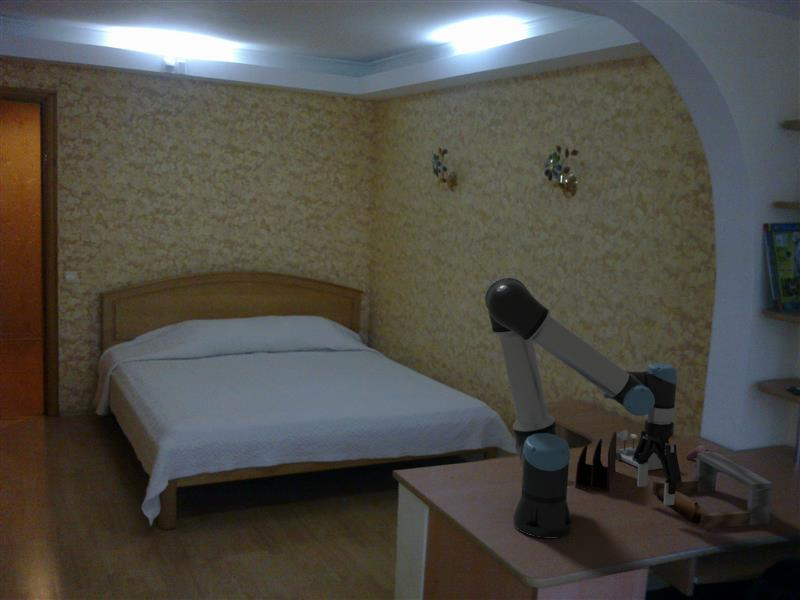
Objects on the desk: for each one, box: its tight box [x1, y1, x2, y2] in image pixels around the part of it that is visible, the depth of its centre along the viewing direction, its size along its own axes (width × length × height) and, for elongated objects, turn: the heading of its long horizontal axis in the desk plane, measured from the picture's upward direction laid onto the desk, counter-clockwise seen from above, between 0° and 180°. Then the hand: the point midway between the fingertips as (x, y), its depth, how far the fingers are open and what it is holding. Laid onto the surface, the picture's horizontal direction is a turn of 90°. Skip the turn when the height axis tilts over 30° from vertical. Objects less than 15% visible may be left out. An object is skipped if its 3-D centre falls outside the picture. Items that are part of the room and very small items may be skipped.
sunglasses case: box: [656, 488, 710, 524], centre depth 218 cm, size 18×7×7 cm
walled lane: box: [652, 451, 774, 530], centre depth 220 cm, size 20×25×12 cm
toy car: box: [616, 428, 666, 471], centre depth 256 cm, size 18×10×12 cm
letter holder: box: [574, 431, 618, 493], centre depth 239 cm, size 10×20×14 cm, turn 159°
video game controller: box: [685, 445, 712, 468], centre depth 256 cm, size 10×5×7 cm, turn 179°
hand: (655, 495), depth 216 cm, fingers open, 13 cm apart
